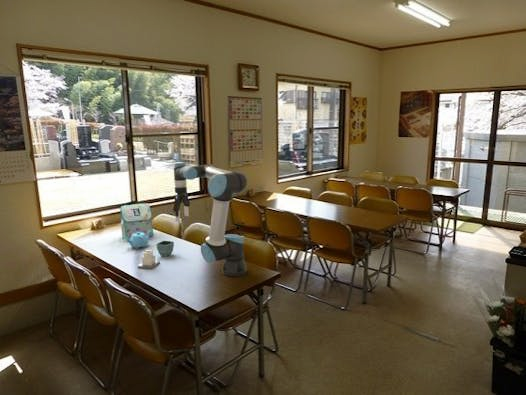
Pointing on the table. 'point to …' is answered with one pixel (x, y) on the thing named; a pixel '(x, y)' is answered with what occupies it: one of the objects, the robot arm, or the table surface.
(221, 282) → the table surface
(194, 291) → the table surface
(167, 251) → the flower pot
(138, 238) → the teapot
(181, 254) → the table surface
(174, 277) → the table surface
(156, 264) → the hub
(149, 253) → the knob
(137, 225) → the lunch bag
